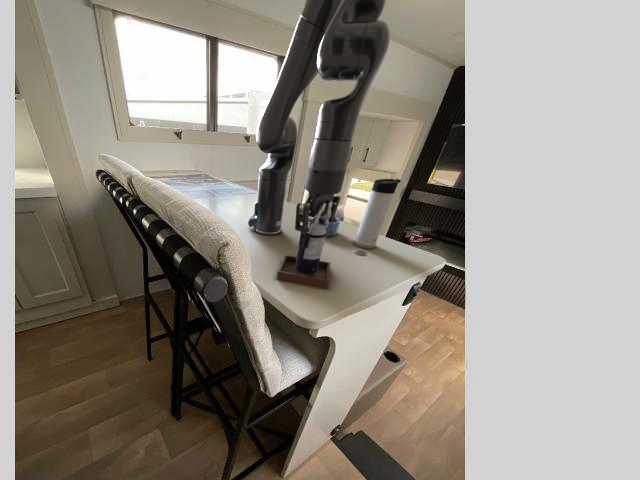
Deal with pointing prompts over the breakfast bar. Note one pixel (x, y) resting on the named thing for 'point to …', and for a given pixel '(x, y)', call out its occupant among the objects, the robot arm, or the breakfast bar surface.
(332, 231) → the bowl
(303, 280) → the tray
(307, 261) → the beverage can
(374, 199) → the travel mug
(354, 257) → the breakfast bar surface
